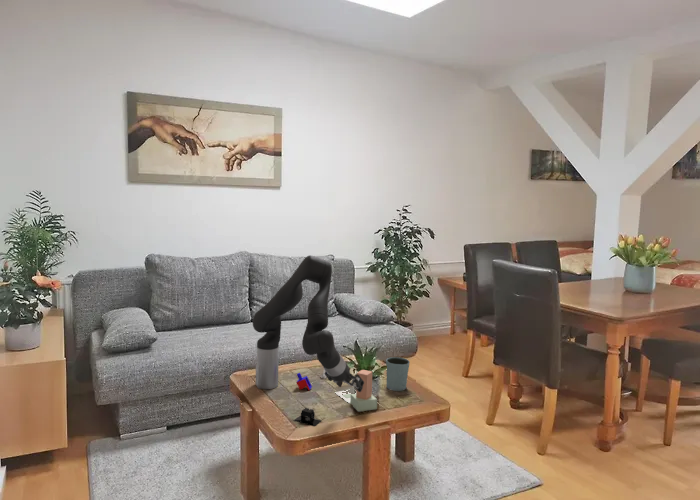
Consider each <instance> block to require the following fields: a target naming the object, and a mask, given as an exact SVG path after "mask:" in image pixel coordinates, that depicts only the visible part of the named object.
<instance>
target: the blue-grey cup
mask: <svg viewBox="0 0 700 500" xmlns="http://www.w3.org/2000/svg"><path fill="white" fill-rule="evenodd" d="M385 363H386V364H385V365H386V366H387V370H386V371H385V372H386V373H385V374H386V388H387V389H388V390H390V391H396V392H401V391H402V392H403V391H404V390H406V389H407V385H408V384H407V382H408V376H409V375H408V374H409V369H410V368H409V367H410V360H409V359H407V358H405V357H400V356H399V357H398V356H393V357H391V356H390V357H387V358H386V360H385Z"/></svg>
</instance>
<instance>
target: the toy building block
mask: <svg viewBox="0 0 700 500" xmlns="http://www.w3.org/2000/svg"><path fill="white" fill-rule="evenodd" d="M296 376H297V378H298V379H297V380H296V385H297V387H298V389H299V390H303V389H305V388H307V390H308V391H310V390H311V389H312V387H313V386H312V383H311V381H310V379H309V378H308V376H302V374H301V372H299V373H296Z"/></svg>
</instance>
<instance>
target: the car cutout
mask: <svg viewBox="0 0 700 500" xmlns="http://www.w3.org/2000/svg"><path fill="white" fill-rule="evenodd" d="M325 372H326V371H325V369H324V368H323V371H322V374H321V375H319V378H320V377H321V379H328V378H327V377H326V375H325Z"/></svg>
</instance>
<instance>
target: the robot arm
mask: <svg viewBox="0 0 700 500" xmlns="http://www.w3.org/2000/svg"><path fill="white" fill-rule="evenodd" d="M295 269H296V270H295V271H294V272H293V274H292V275H291V276H290V277H289V278H288V280H287V281H286V282H285V283H284V284H283V285H282V286H281V287H280V288H279V289H278V290H277V292H276V293H275V294H274V295H273V296H272V297H271V299H270V300H269V301H267V303H266V304H265V305H264V306H263V307H261V308H260V309H259V310H258V311H256V313H254V316H253V317H252V326H253V329H254V330H255V332H257V333H259V334H260V333H261V334H262V333H264V335H263V336H261V337H260V338H259V339H257V341H256V362H255V385H256V387H257V389H259V390H261V389H262V390H269V389H270V390H272V389H275V388H277V387H278V386H279V358H280V357H279V355H280V352H279V351H280V349H279V348H280V345H279V344H280V342H281V330H282V317H281V316H283V315H284V314H287V313H288V312H290V311H291V310H294V308H295V307H296V306H297V305H298V304H299V303H300V302H301V301H302V299H303V293H304V292H303V291H304V290H303V285H302V284H303V282H304V281H309V282H312V283H316V284H318V285H319V287H318V288H319V289H318V291H317V292H316V294H315V295H314V296H313V297H312V299H311V300H310V302H309V303H308V306H307V323H306V326H305V330H304V334H303V335H302V342H301V343H302V344H301V345H302V346H301V347H302V349H303V351H304V352H305V354H306V355H310V356H313V355H316V358H317V361H318V362H319V363H320V364H321V365H322V367H323V370H324V369H325V371H326V372H325V375H326V377H327V378H326V379H327V380H328V381H329V382H333V383H335V384H336V385H337V386H338V387H339V388H342V385H343V383H344V384H347V385H348V386H350V387H354V388H355V390H356V389H357V390H358V392H361V391H362V389H363V385H364V381H363V380H362V379H361V377H360V376H359V375H357V374H356V375H353V374H352V373H351V371H350V367H349V365H348V364H347V362H346V361H345V359H344V358H343V356H342V355H341V354H340V353H339V352H338V350H337V347H336V346H335V338H334V335H333V334H332V332H331V331H329V330H325V329H326V328H328V326H329V313H328V312H329V309H328V307H329V306H328V303H329V295H330V289H331V288H330V287H331V282H332V273H333V268H332V264H331V262H330V261H328V260H326V259H324V258H320V257H318V256H315V255H307V256H306V257H304V259H303V260H302V261H301V262H300V264H299V265H298V267H297V268H295Z"/></svg>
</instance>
